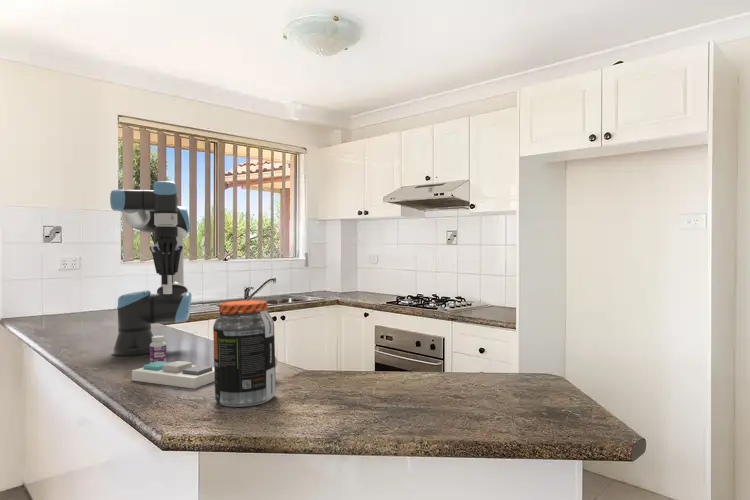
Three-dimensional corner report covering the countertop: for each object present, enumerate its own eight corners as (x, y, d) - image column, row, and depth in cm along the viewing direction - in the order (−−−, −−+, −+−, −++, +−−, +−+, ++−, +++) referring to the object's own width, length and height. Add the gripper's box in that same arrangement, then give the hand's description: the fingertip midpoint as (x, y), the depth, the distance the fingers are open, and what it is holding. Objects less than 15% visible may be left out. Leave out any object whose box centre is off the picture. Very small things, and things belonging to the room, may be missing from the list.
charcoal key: (197, 374, 158) (197, 365, 158) (212, 376, 156) (212, 366, 156) (182, 379, 153) (182, 369, 153) (198, 381, 150) (197, 371, 150)
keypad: (162, 371, 168) (162, 362, 168) (223, 378, 158) (222, 368, 158) (132, 380, 157) (131, 370, 157) (194, 388, 147) (194, 378, 147)
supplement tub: (288, 395, 139) (286, 300, 138) (246, 412, 125) (243, 307, 125) (245, 388, 147) (243, 297, 146) (201, 403, 133) (199, 304, 133)
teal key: (158, 370, 165) (158, 361, 165) (172, 372, 162) (172, 362, 162) (143, 375, 159) (143, 365, 159) (157, 376, 157) (157, 367, 157)
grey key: (177, 370, 162) (177, 360, 162) (192, 371, 159) (192, 362, 159) (162, 374, 156) (162, 365, 156) (177, 376, 154) (177, 366, 154)
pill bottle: (155, 366, 175) (154, 338, 175) (147, 364, 178) (146, 336, 178) (169, 363, 179) (169, 335, 179) (161, 361, 182) (160, 334, 182)
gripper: (159, 225, 171) (160, 296, 171) (188, 226, 183) (189, 292, 183) (142, 226, 174) (144, 295, 174) (172, 226, 186) (173, 291, 186)
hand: (167, 293), depth 179 cm, fingers closed
